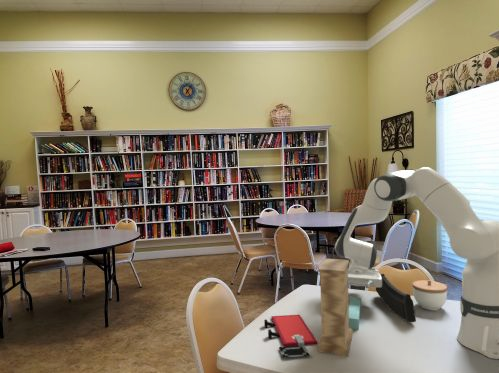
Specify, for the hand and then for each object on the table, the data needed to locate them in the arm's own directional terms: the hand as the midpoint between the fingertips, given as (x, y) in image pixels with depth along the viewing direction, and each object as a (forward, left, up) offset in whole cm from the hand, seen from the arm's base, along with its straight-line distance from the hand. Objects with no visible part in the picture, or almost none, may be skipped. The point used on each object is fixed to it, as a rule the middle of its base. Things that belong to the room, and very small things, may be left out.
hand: (354, 285), depth 133 cm
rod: (0, +4, -11) cm, 12 cm away
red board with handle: (+20, +27, -12) cm, 36 cm away
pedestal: (+4, +27, -11) cm, 30 cm away
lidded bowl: (-28, -15, -11) cm, 34 cm away
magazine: (-14, -8, -11) cm, 20 cm away
